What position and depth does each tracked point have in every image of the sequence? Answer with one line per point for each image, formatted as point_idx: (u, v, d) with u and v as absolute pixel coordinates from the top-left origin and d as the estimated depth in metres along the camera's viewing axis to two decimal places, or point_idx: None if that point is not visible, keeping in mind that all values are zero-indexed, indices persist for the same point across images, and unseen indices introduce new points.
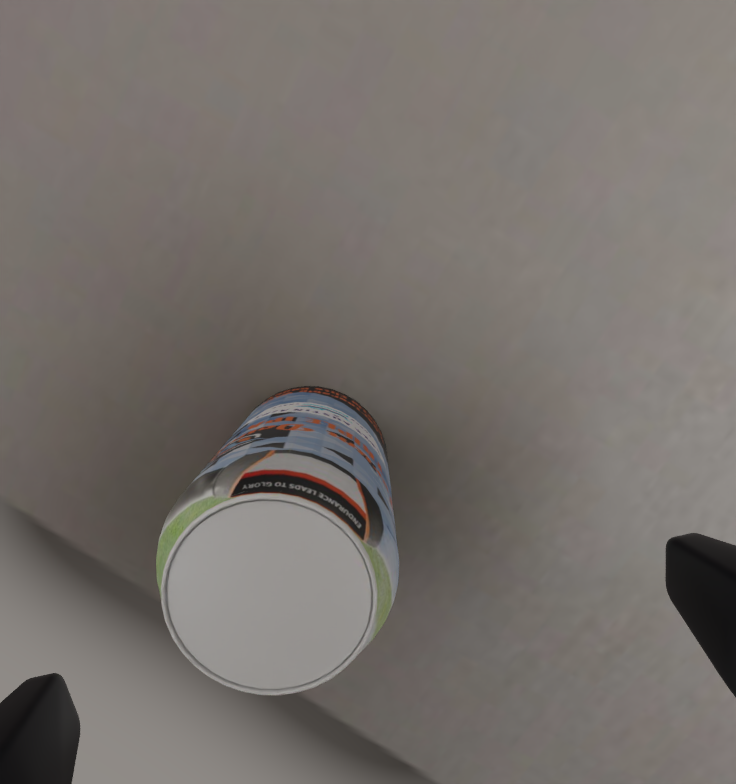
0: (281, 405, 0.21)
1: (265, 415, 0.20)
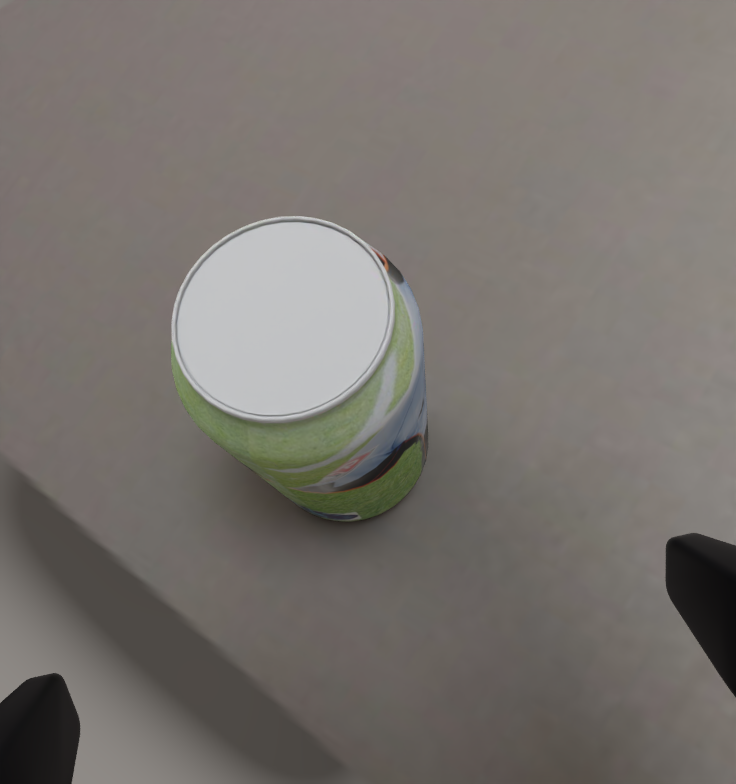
0: None
1: None
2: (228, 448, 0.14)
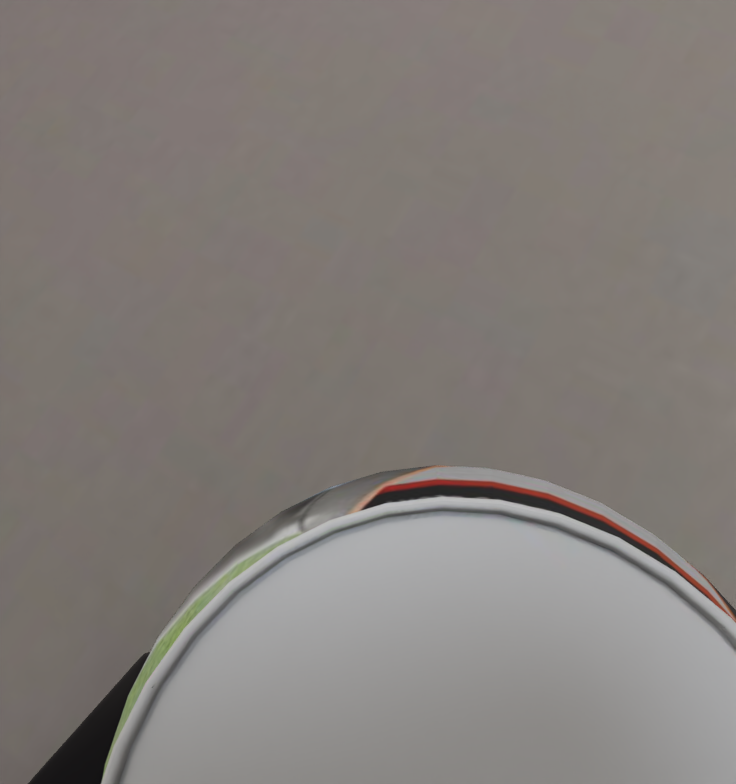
0: None
1: None
2: None
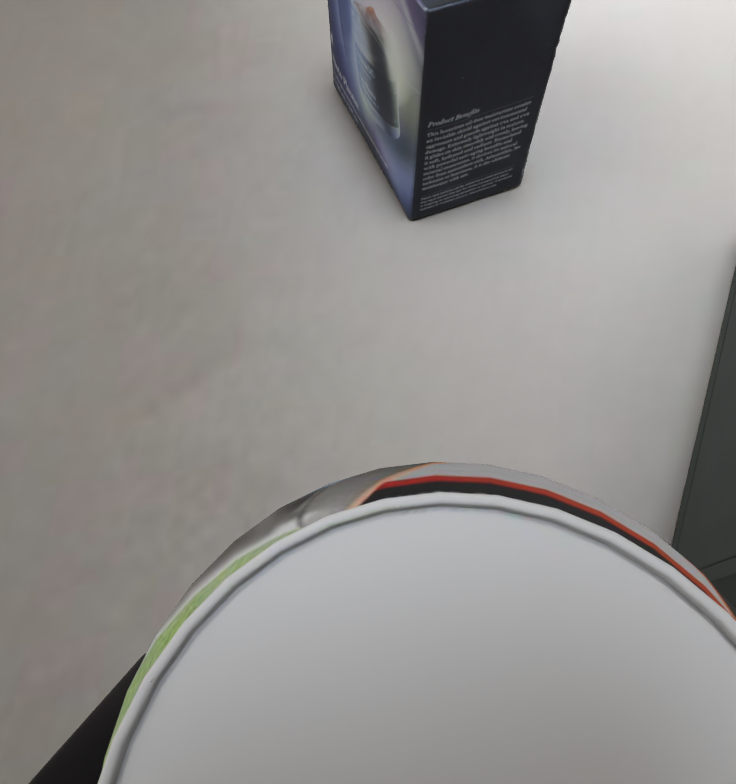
0: None
1: None
2: None
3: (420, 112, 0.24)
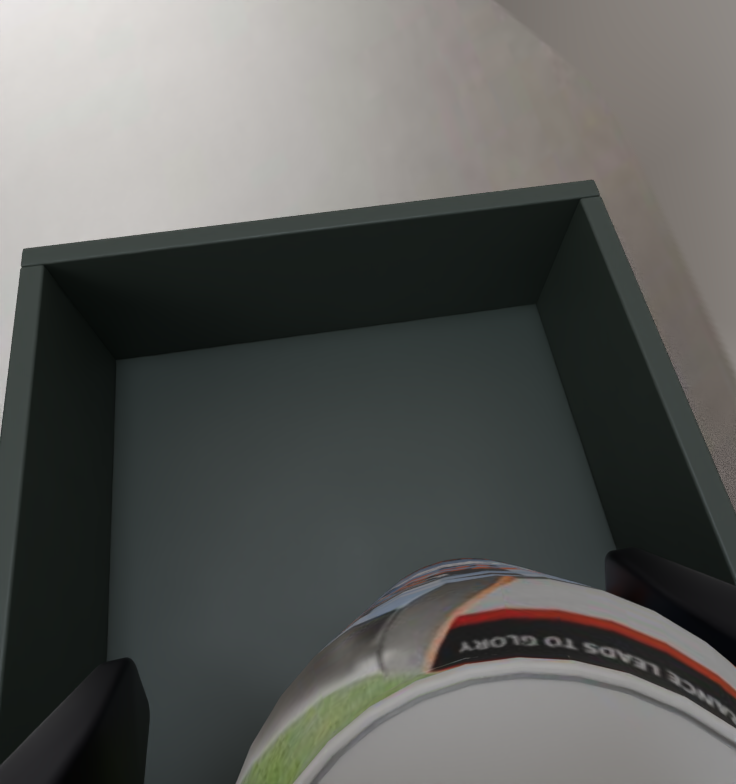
0: (446, 564, 0.12)
1: (426, 572, 0.11)
2: None
3: None
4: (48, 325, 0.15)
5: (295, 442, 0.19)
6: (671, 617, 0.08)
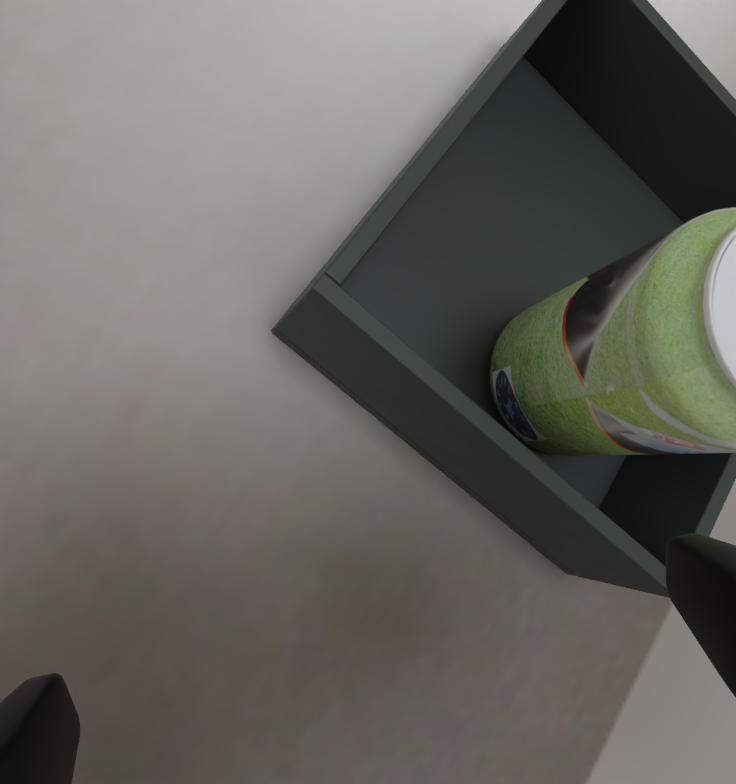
0: None
1: None
2: (653, 357, 0.14)
3: None
4: None
5: (565, 197, 0.27)
6: None
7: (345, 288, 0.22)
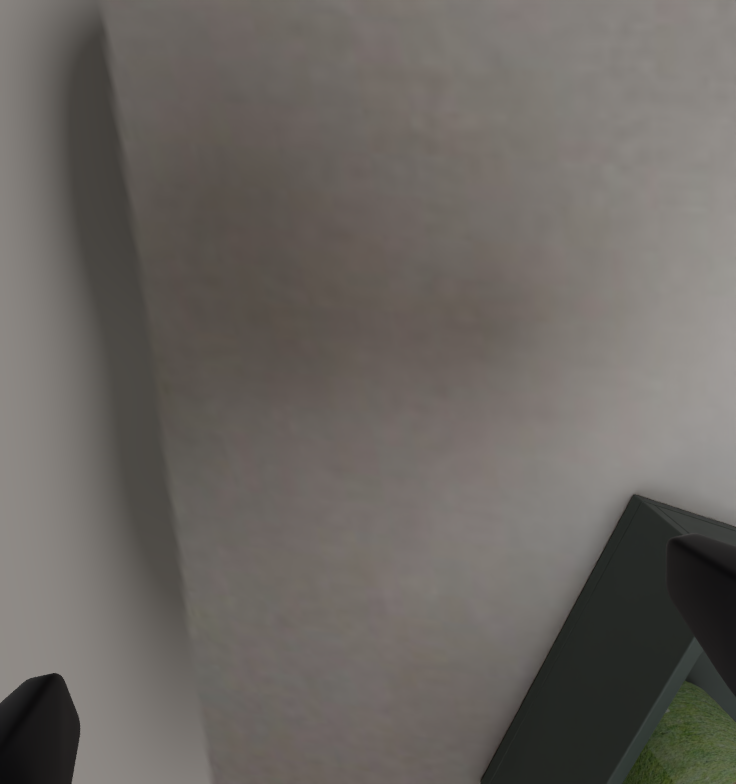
0: None
1: None
2: None
3: None
4: None
5: None
6: None
7: None
